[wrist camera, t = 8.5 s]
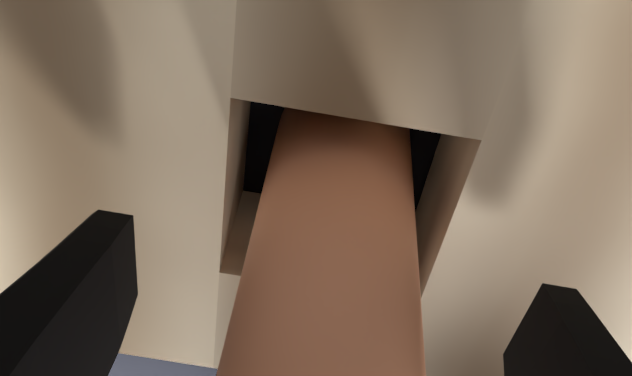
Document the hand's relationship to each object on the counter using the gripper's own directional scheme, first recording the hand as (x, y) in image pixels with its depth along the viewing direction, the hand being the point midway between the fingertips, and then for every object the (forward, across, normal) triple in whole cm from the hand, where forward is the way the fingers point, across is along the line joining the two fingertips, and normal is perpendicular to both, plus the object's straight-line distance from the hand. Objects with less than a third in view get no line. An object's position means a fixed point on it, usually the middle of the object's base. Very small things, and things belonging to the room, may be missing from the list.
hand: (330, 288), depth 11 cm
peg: (+5, 0, 0) cm, 5 cm away
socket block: (+5, 0, 0) cm, 5 cm away
